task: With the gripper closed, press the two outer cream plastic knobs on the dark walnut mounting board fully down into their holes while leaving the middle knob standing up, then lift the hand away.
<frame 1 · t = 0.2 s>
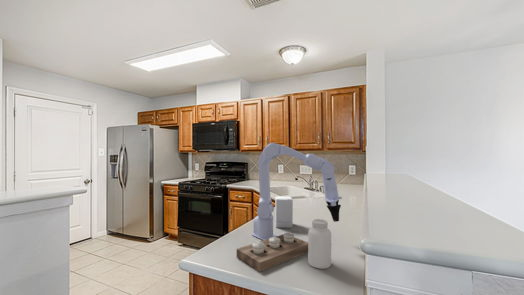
hand: (335, 218, 100), 10 cm above the countertop, tool pointing down, fingers open, 7 cm apart
outer knob 2: (288, 238, 94), point 4 cm above the countertop, slide at 0.0 cm
supplement box: (283, 225, 124), on the countertop
pill bottle: (319, 264, 81), on the countertop
knob board: (274, 253, 89), on the countertop
outer knob 1: (258, 248, 84), point 4 cm above the countertop, slide at 0.0 cm
middle knob: (274, 243, 89), point 4 cm above the countertop, slide at 0.0 cm
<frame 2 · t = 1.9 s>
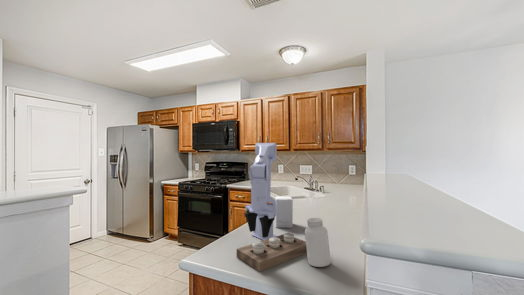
hand: (258, 233, 84), 9 cm above the countertop, tool pointing down, fingers open, 7 cm apart
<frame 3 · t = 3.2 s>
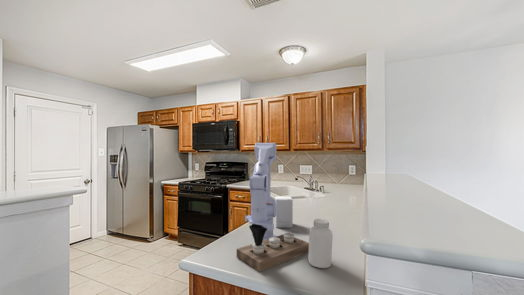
hand: (258, 244, 84), 5 cm above the countertop, tool pointing down, fingers closed, pressing on outer knob 1
outer knob 1: (258, 249, 84), point 4 cm above the countertop, slide at 0.1 cm, touching gripper
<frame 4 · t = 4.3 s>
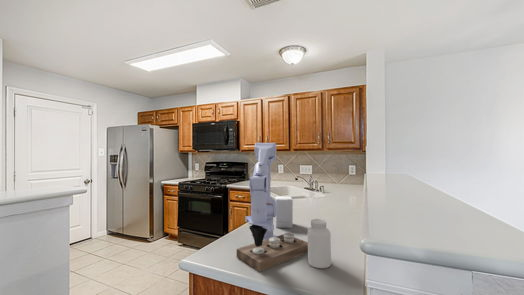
hand: (258, 245, 84), 5 cm above the countertop, tool pointing down, fingers closed
outer knob 1: (258, 254, 84), point 2 cm above the countertop, slide at 2.0 cm
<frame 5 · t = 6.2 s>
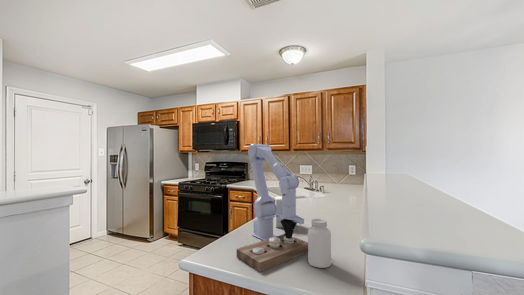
hand: (288, 237, 94), 4 cm above the countertop, tool pointing down, fingers closed, pressing on outer knob 2
outer knob 2: (288, 241, 94), point 3 cm above the countertop, slide at 1.1 cm, touching gripper
everything else where it was.
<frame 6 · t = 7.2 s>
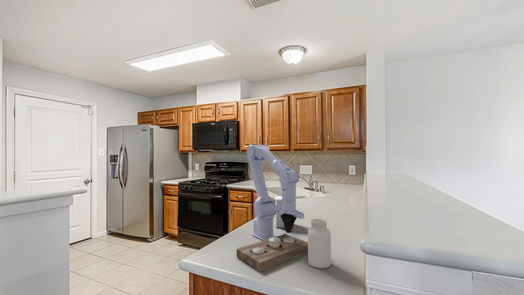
hand: (288, 232, 94), 7 cm above the countertop, tool pointing down, fingers closed
outer knob 2: (288, 243, 94), point 2 cm above the countertop, slide at 2.0 cm
everything else where it was.
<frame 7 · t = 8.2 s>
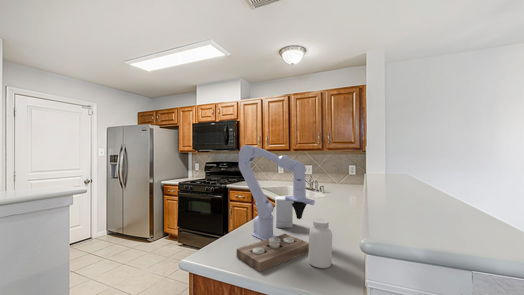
hand: (299, 218, 104), 9 cm above the countertop, tool pointing down, fingers closed
nothing on the countertop moved.
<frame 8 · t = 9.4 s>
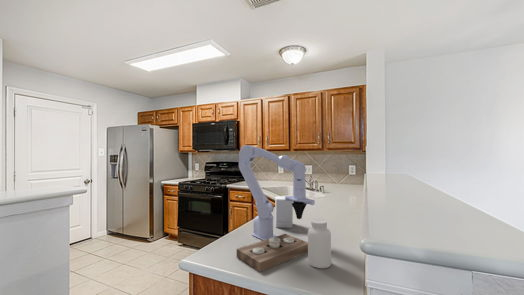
hand: (299, 218, 104), 9 cm above the countertop, tool pointing down, fingers closed
nothing on the countertop moved.
at the end: outer knob 1 slide at 2.0 cm; outer knob 2 slide at 2.0 cm; middle knob slide at 0.0 cm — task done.
